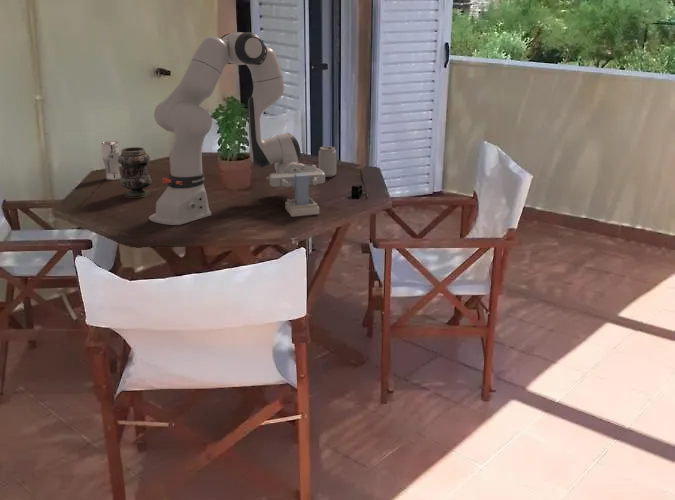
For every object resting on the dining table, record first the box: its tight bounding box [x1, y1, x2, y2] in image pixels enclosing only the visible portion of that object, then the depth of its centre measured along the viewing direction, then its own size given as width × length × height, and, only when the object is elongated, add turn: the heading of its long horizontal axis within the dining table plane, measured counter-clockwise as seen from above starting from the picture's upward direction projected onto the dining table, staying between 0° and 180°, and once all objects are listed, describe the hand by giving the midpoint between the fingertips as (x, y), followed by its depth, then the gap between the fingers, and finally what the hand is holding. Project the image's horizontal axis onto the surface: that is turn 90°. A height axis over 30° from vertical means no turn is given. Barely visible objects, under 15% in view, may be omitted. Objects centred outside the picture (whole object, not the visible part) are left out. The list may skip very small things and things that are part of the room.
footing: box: [284, 197, 320, 217], centre depth 266 cm, size 10×10×4 cm
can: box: [318, 145, 337, 178], centre depth 312 cm, size 8×8×12 cm
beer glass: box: [101, 140, 122, 181], centre depth 307 cm, size 7×7×15 cm
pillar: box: [294, 173, 310, 205], centre depth 263 cm, size 4×4×11 cm
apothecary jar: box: [118, 146, 153, 199], centre depth 283 cm, size 12×12×18 cm
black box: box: [345, 183, 368, 200], centre depth 285 cm, size 12×7×5 cm, turn 155°
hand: (301, 184), depth 262 cm, fingers open, 8 cm apart
